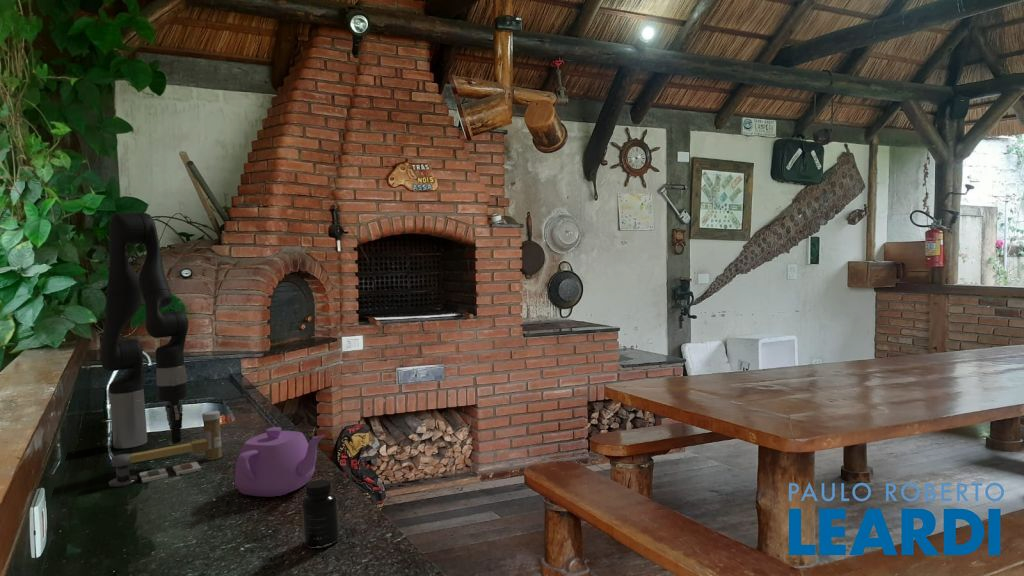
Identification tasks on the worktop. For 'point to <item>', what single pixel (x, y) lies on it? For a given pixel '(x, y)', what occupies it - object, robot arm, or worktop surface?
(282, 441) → the teapot
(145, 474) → the label tile
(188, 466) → the label tile
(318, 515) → the supplement bottle
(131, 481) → the post
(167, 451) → the swing bar
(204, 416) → the sprinkles bottle
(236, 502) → the worktop surface
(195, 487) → the worktop surface
